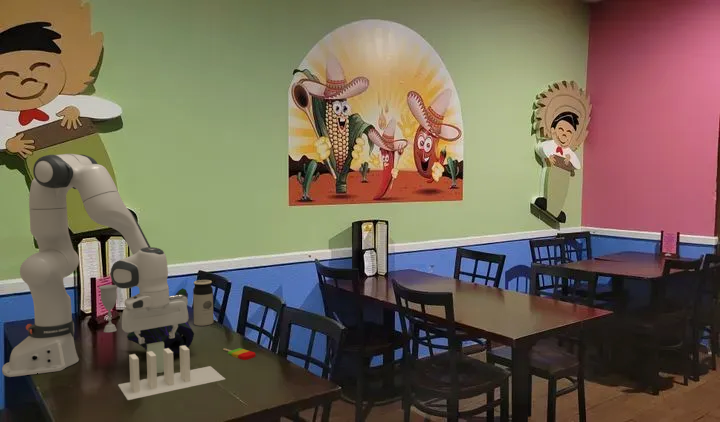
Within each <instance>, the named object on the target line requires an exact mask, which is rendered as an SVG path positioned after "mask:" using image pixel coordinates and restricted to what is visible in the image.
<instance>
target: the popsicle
mask: <svg viewBox="0 0 720 422" xmlns="http://www.w3.org/2000/svg"><path fill="white" fill-rule="evenodd" d="M222 350H223V351H225V352H227V354H228V355H229V356H230V357H233V358H236V359H239V360H242V361H249V360H251V359H253V358H255V357H257V356H256V352H255V351H252V350H251V351H250V350H247V349H244V348H242V347H239V348H236V349H232V350H231V349H227V348H226V347H225V348H223V349H222Z"/></svg>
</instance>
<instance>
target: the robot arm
mask: <svg viewBox="0 0 720 422" xmlns="http://www.w3.org/2000/svg"><path fill="white" fill-rule="evenodd" d="M32 168H33V169H32V173H33V177H34V178H33V179H32V180H31V183H30V189H29V198H28V206H29V207H28V208H29V228H30V229H29V231H30V233H31V235H32V236H33V237H34V238H35V240H36V244H37V246H38V250H39V251H38V252H35V253H33V254H31V255H30V256H28V257H27V258H26V259H25V260H24V261H23V262H22V263H21V265H20V267H19V275H20V278H21V279H22V281H23V282H24V283H26V285H27V286H28V289H29V291H30V295H31V298H32V301H33V314H34V324H32V323H27V325H25V329H26V331H27V335H28V336H27V337H26V338H24V339H23V340H22V341H21V342H20V343H18V344H17V345H16V346H14V348H13V349H12V350H11V353H10V356H9V362H6V363H5V364H3V366H2V367H1V369H2V370H1V372H2V375H4V376H5V377H8V378H11V377H21V376H27V375H36V374H37V373H38V374H45V373H52V372H53V373H55V372H60V371H63V370H64V369H65V368H68V367H70V366H73V365H74V364H76V363H78V362H79V360H80V358H79V356H78V352H77V350H76V346H75V340H74V336H75V323H74V320H73V318H72V317H73V315H72V299H71V296H70V295H69V294H68V292H67V290H66V288H65V283H64V279H65V278H67V277H68V276H71V275H72V274H73V273H74V272H75V270H76V269H77V268H78V266H79V264H80V258H79V255H78V253H77V251H76V250H75V249H74V246H73V243H72V240H71V236H70V232H69V224H68V223H69V222H68V203H67V194H68V192H69V190H71V189H74V190H77V192H78V193H79V195H80V198H81V201H82V203H83V206H84V209H85V211H86V214H87V215H88V217H89V218H90V220H91V221H93V222H95V223H96V224H98V225H101V226H104V227H108V228H112V229H114V230H116V231H117V232H119V233H120V234H121V235H122V237H123V238H124V241H125V242H126V244H127V245H128V248H129V250H130V251H131V254H132V255H130V256H128V257H124V258H122V259H119V260H117V261H115V262H114V263H113V265H112V266H111V268H110V279H111V281H112V283H113V285H116V286H117V288H119V289H132V288H134V287H137V288H138V289H139V293H137V294H136V295H135V294H134V295H133V296H130V297H128V298H126V299H125V300H124V306H125V307H124V309H123V311H122V313H121V314H122V315H121V330H122V331H123V332H125V333H126V334H127V333H128V334H129V333H131V332H134V333H135V335H136V336H137V337H138V340H139V344H144V343H145V342H144V341H145V339H144V337H140V336H139V334H140V330H146V329H152V328H158V327H163V326H169V325H172V327H173V329H172V331H171V332H169V338H170V339H171V338H175V332H176V330H177V328H178V324H181V323H186V322H187V321H188V322H189V312H188V302H189V301H188V299H187V297H186V296H183V295H176V294H175V295H176V296H175V295H170V288H169V287H170V286H169V285H168V284H169V283H168V276H169V270H168V260H167V256H166V254H165V251H164V250H163V249H161V248H157V247H151V245H150V243H149V242H148V239H147V237H146V235H145V233H144V232H143V230H142V228H141V226H140V224H139V222H138V220H137V218H136V217H135V216H134V214H133V213H132V212H131V211H130V209H128V207H127V206H126V205H125V203H124V201H123V199H122V198H121V195H120V193H119V191H118V188H117V185H116V184H115V182H114V180H113V177H112V175H111V174H110V172H109V171H108V169H107V168H106V167H105V166H103V165H102V164H98V162H97V161H96V159H94V157H91V156H89V155H86V154H76V153H64V154H47V155H43V156H41V157H39V158H38V159H37V160H36V161H35V163H34V164H33V167H32ZM139 344H138V345H139Z"/></svg>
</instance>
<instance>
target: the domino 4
mask: <svg viewBox="0 0 720 422" xmlns="http://www.w3.org/2000/svg"><path fill="white" fill-rule="evenodd" d="M163 356H164V372H163V375H164V381H165V382H166V383H167V384H168V385H174V373H175V371H174V369H175V368H174V355H173V352H172V351H171V350H170V349H169V348H166V349H163Z"/></svg>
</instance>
